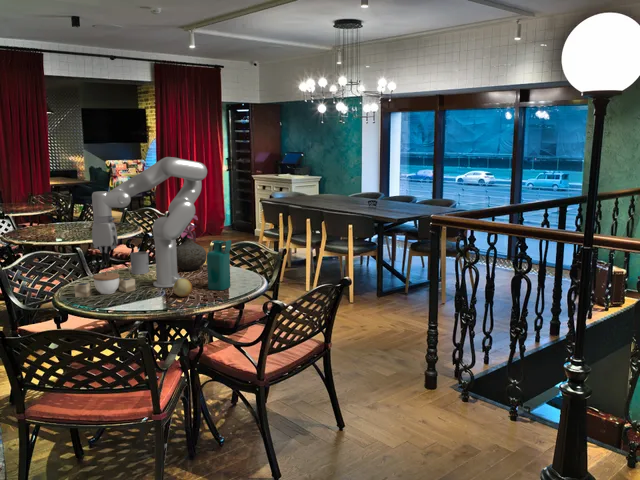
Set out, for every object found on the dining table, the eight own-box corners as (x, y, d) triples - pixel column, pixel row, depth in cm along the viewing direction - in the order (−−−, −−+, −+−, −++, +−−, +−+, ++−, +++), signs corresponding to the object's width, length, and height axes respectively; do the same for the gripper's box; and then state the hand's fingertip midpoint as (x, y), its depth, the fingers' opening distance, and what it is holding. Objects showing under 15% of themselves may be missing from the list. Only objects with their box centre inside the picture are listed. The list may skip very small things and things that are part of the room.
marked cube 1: (91, 294, 255) (90, 282, 254) (87, 297, 250) (86, 285, 249) (80, 294, 255) (79, 282, 254) (75, 297, 250) (74, 285, 249)
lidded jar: (96, 296, 250) (94, 275, 249) (93, 291, 259) (91, 270, 258) (122, 293, 255) (120, 272, 253) (118, 288, 264) (117, 268, 263)
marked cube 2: (135, 290, 262) (134, 278, 261) (126, 292, 258) (125, 280, 257) (128, 288, 265) (128, 277, 264) (119, 290, 261) (118, 279, 260)
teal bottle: (206, 289, 262) (204, 241, 258) (215, 285, 270) (214, 238, 266) (225, 291, 258) (224, 242, 255) (234, 287, 266) (233, 239, 263)
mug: (146, 274, 294) (145, 254, 292) (129, 274, 294) (128, 254, 292) (152, 269, 306) (151, 250, 304) (136, 269, 306) (135, 250, 304)
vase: (175, 274, 293) (173, 215, 288) (171, 267, 309) (169, 211, 305) (209, 271, 299) (207, 213, 294) (203, 265, 315) (201, 210, 310)
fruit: (175, 294, 253) (175, 276, 252) (194, 294, 253) (194, 276, 252) (171, 299, 246) (170, 280, 244) (190, 299, 246) (189, 280, 244)
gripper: (123, 219, 254) (126, 260, 257) (93, 218, 258) (96, 259, 261) (112, 221, 247) (115, 264, 250) (82, 220, 251) (85, 262, 254)
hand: (106, 261), depth 255 cm, fingers closed
